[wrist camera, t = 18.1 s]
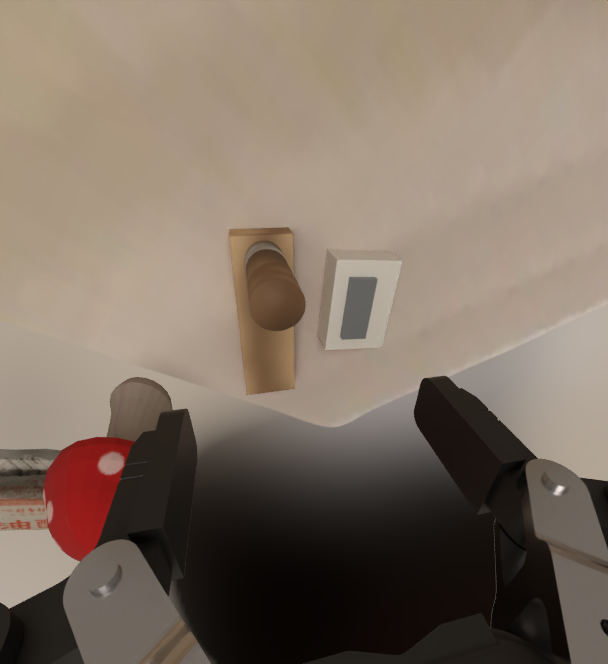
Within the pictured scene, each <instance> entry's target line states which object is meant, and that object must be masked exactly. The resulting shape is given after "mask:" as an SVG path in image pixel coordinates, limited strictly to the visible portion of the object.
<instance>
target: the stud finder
mask: <svg viewBox="0 0 608 664" xmlns="http://www.w3.org/2000/svg"><path fill="white" fill-rule="evenodd" d="M401 265H402V260H401V259H399V258H397V257H396V256H394V255H393V254H391V253H390V252H388V251H377V250H338V249H327V255H326V263H325V272H324V281H323V290H322V298H321V307H320V316H319V324H318V333H317V334H318V336H319V338H320V340H321V342H322V344H323V346H324V349H325V350H339V349H360V348H382V345H383V341H384V337H385V332H386V328H387V324H388V320H389V316H390V311H391V307H392V303H393V299H394V295H395V291H396V286H397V282H398V278H399V274H400V270H401Z"/></svg>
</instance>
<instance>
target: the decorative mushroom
mask: <svg viewBox="0 0 608 664" xmlns="http://www.w3.org/2000/svg"><path fill="white" fill-rule="evenodd" d="M110 406H111V420H110V424H109V429H108V433H107V437H95V438H90V439H86V440H81V441H77V442H75V443H74V444H72V445H70V446H68V447H66V448H65V449H63V450H62V451H61V452H60V454H59V455H58V456H57V457H56V459H55V460H54V461H53V463H52V464H51V465H50V467H49V468H48V469H47V473H46V478H45V483H44V490H43V499H44V502H45V506H46V509H47V524H48V528H49V531H50V533H51V535H52V537H53V539H54V541H55V543H56V544H57V545H58V547H59V548H60V549H61V550H62V551H64V552H65V553H66V554H67V555H69V556H70V557H72V558H74V559H76V560H78V561H81V560H82V559H83V558H84V557H85V556H87V555H88V554H89V553H90V552H91V551H93V550H94V548H95V547H96V545H97V543H98V540H99V538H100V535H101V532H102V529H103V527H104V524H105V521H106V518H107V515H108V512H109V509H110V506H111V503H112V500H113V497H114V494H115V492H116V489H117V486H118V483H119V482H120V477H121V474H122V471H123V468H124V467H125V462H126V459H127V457H128V454H129V451H130V448H131V446H132V445H133V444H134V443H135V441H136V440H137V439H138V438H139V436H140V435H141V434H142V433H143V432H147V431H154V430H156V426H157V423H158V419H159V416H160V413H161V412H165V411H172V404H171V399H170V397H169V395H168V393H167V391H166V390H165V389H164V388H163V387H162V386H161V385H159V384H158V383H156V382H155V381H152V380H149V379H147V378H140V377H135V378H130V379H128V380H126V381H124V382H123V383H121V384H120V385H119V386H117V387H116V388H115V390H114V391H113V392H112V394H111V398H110Z"/></svg>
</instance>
